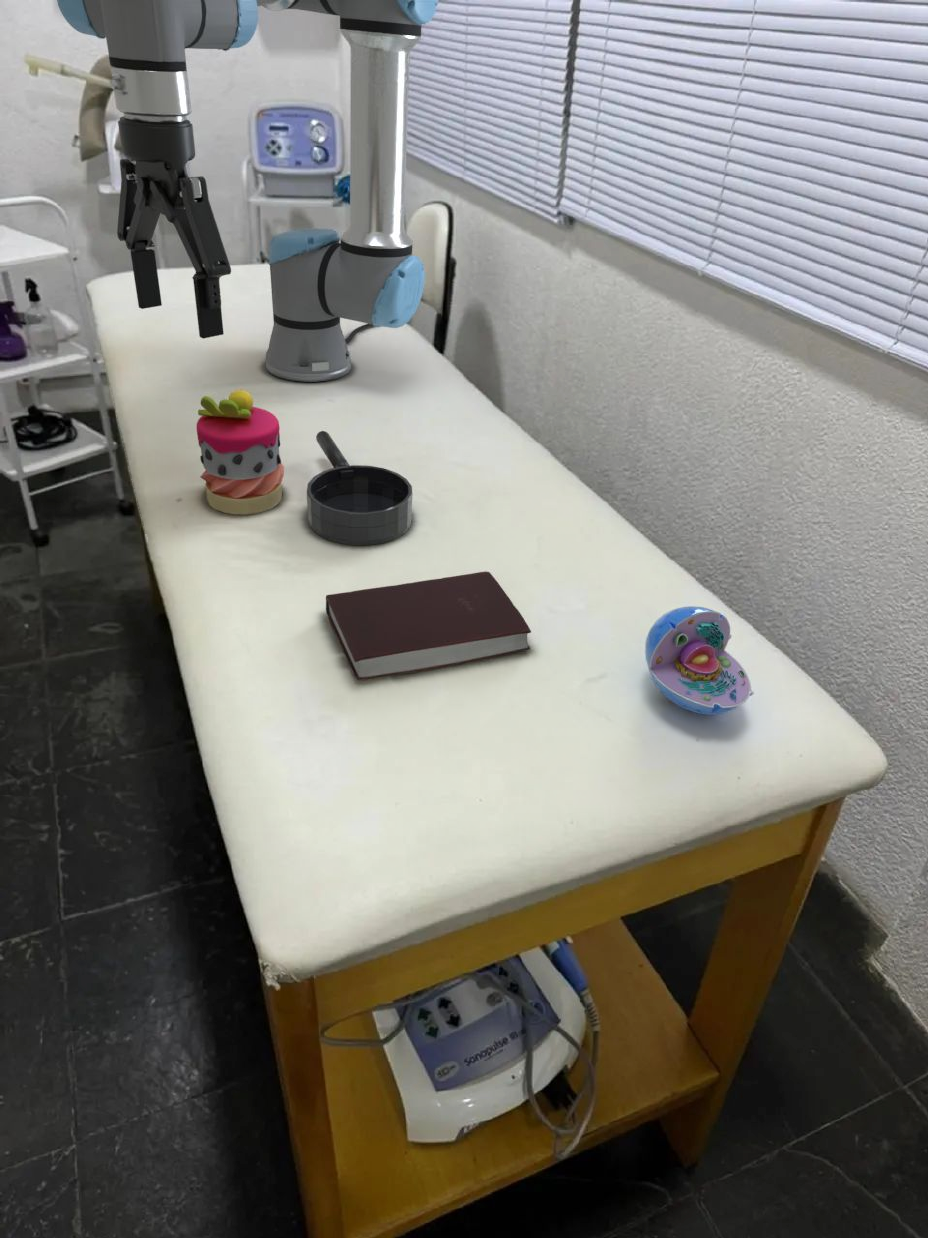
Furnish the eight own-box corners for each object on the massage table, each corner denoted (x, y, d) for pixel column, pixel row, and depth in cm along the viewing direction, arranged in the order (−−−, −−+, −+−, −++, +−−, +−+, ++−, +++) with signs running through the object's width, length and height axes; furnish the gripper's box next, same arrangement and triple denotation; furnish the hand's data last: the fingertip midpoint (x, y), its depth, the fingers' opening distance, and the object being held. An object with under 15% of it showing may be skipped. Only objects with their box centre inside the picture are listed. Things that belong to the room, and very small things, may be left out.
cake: (216, 476, 119) (204, 371, 110) (291, 481, 119) (285, 377, 110) (194, 512, 110) (179, 401, 101) (276, 518, 110) (268, 408, 101)
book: (325, 614, 94) (324, 589, 92) (486, 588, 100) (489, 565, 98) (354, 685, 85) (354, 660, 83) (530, 652, 91) (533, 628, 89)
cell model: (685, 748, 81) (709, 669, 75) (616, 672, 89) (633, 596, 84) (766, 723, 84) (795, 646, 79) (693, 652, 93) (714, 579, 87)
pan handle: (354, 480, 115) (354, 467, 114) (340, 482, 114) (339, 468, 113) (328, 440, 124) (327, 428, 123) (314, 442, 124) (314, 429, 123)
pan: (425, 536, 109) (427, 505, 106) (323, 552, 104) (322, 520, 102) (392, 489, 119) (392, 460, 116) (297, 502, 114) (295, 471, 112)
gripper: (64, 102, 94) (99, 299, 106) (187, 133, 81) (210, 355, 93) (128, 101, 99) (154, 291, 111) (254, 131, 85) (267, 342, 98)
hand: (180, 320), depth 102 cm, fingers open, 13 cm apart
